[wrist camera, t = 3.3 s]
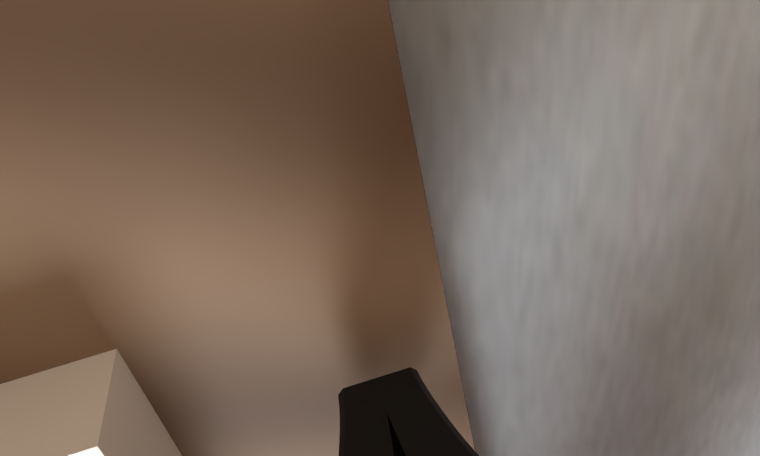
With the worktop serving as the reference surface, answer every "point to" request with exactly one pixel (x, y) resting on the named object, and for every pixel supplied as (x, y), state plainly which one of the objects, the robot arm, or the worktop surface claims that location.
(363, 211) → the board
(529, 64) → the worktop surface
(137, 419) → the tile
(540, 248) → the worktop surface
